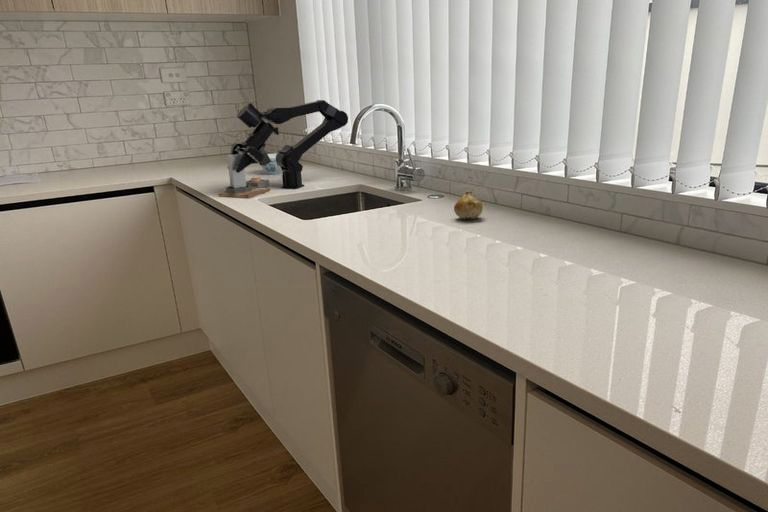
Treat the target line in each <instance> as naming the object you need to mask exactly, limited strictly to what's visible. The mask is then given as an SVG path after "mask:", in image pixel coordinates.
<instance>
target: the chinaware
mask: <svg viewBox="0 0 768 512" xmlns="http://www.w3.org/2000/svg"><path fill="white" fill-rule="evenodd" d="M267 154H268V156H269V158H270V160H271V162H270V163H268V164H267V165H265V166H263V165H260V164H259V162H258V161H257V162H258V163H257V164H258V165H259V167H260V168H262V170H263V171H265V172H267V174H268V175H274V176H275V175H281V174H282V175H283V171H284V170H282V169H281V167H280V166H279V165H278V164H277V163H276V155H277V154H278V153H267Z"/></svg>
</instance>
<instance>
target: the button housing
mask: <svg viewBox="0 0 768 512" xmlns="http://www.w3.org/2000/svg"><path fill="white" fill-rule="evenodd" d="M246 185H250V186H251V187H257V188H269V187H270V179H264V178H263V179H262V178H261V181H260V182H251V181H250V179H249V180H246ZM268 186H269V187H268Z"/></svg>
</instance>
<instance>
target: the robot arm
mask: <svg viewBox="0 0 768 512" xmlns="http://www.w3.org/2000/svg"><path fill="white" fill-rule="evenodd" d="M314 113H320V114H321V115H322V116H323V117H324V118H323V120H322V122H321V123H320V125H318V126H317V127H315V129H312V131H311V132H309V133H307V135H305V136H304V137H303V138H302V139H300V140H299V141H298V142H296V144H294V145H289V144H286V145H284V146H283V147H282V148H280V149H278V150H277V153H276V154H277V155H276V163H277V164H278V165H279V166H280V167H281V169H282V170H284V171H283V173H282V175H281V179H282V186H281V188H282V189H291V188H293V189H294V188H296V189H298V187H299V188H301V186H302V187H305V184H303V179H302V178H303V177H302V172H303V168H304V166H303V165H302V164H301V163H300V160H301V158H302V156H303V155H304V154H305V153H306V152H307V151H308V150H310V149H311V148H313V146H315V145H316V144H318V142H320V141H321V140H322V139H323V138H325V137H326V136H327V135H328V134H330V133H332V132H335V131H337V130H339V129H341V128H343V127H345V126H346V125H347V124H348V123H349V116H348V114H347V113H346V111H344V110H340V109H338V108H337V107H335V106H333V105H332V104H330V103H329V102H328V101H326V100H324V99H318V100H315V101H311V102H306V103H302V104H297V105H293V106H289V107H288V106H286V107H285V106H281V107H280V106H278V107H277V106H276V107H275V106H273V107H269V108H267V110H266V111H263V112H261V111H259V110H258V109H257V108H256V107H255V106H254V105H253V103H251V102H249V103H247V104H246V105H245V106H244V107H243V108H242V109H240V110H239V111H238V113H237V114H236V117H237V119H239V120H240V121H241V122H242V123H244V124H245V126H247V127H248V128H250V129H251V128H252V129H253V128H254V129H253V131H252V132H249V133H248V134H247V136H248V137H247V138H246V140H244V142H243V141H242V142H241V143H240V142H233V144H232V145H231V146H230V148H231V149H230V155H231V154H242V155H241V158H240V160H239V163H238V166H237V168H236V172H237V173H239V172H240V171H242V170H243V169H246V168H247V167H248V166H250V165H253V164H258V165H259V164H260V165H263V166H265V165H267V164H268V163H270V162H271V160H270V158H269V156H268V154H269V153H268V152H267V151H266V149H265V147H266V142H267V141H268V139H269V138H270V137H271V136H272V135H275V136H276V135H277V136H279V135H280V132H279V127H278V126H277V127H276V126H273V124H274V125H282V124H284V123H286V122H288V121H290V120H292V119H293V118H298V117H301V116H305V115H310V114H314ZM265 120H266V121H267V122H266V121H265ZM258 162H259V163H258ZM260 165H259V166H260Z"/></svg>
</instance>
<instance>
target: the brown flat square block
mask: <svg viewBox="0 0 768 512" xmlns="http://www.w3.org/2000/svg"><path fill="white" fill-rule="evenodd" d="M224 189H225V191H221V192H218V197H220V198H221V197H222V198H237V199H251V198H255V197H257V195H258V196H261V195H264V194H267V193H270V192H269V191H271V188H270V187H265V188H257V187H251V186H250V185H246V188H242V189H231V186H230V185H229V186H225V188H224ZM266 192H267V193H266ZM263 193H264V194H263ZM260 194H261V195H260ZM254 196H255V197H254Z"/></svg>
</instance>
